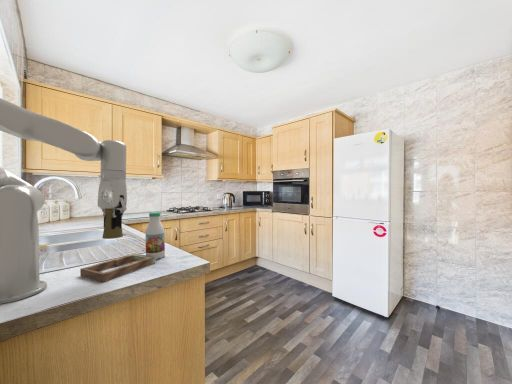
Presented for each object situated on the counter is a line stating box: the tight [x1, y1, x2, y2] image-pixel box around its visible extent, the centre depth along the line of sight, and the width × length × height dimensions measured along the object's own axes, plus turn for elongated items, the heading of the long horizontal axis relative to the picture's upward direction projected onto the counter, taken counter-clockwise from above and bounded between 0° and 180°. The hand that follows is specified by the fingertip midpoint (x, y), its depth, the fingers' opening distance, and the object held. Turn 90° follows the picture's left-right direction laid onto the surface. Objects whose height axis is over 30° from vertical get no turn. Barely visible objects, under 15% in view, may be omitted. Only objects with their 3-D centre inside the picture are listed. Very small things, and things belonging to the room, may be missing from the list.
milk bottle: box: [145, 211, 166, 260], centre depth 95 cm, size 8×8×20 cm
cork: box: [102, 206, 124, 240], centre depth 75 cm, size 6×6×11 cm
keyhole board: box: [79, 253, 156, 283], centre depth 81 cm, size 20×13×2 cm, turn 155°
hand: (112, 227), depth 75 cm, fingers closed on cork, 3 cm apart
